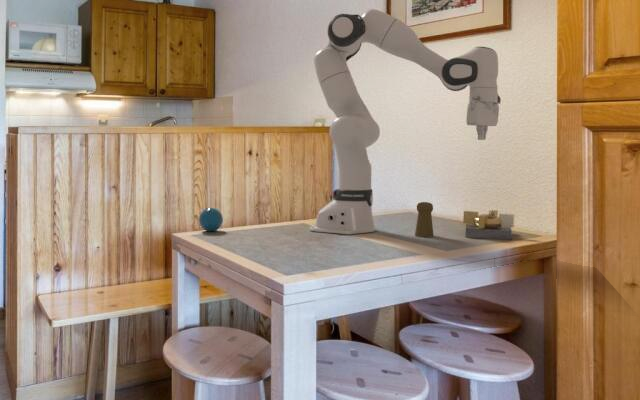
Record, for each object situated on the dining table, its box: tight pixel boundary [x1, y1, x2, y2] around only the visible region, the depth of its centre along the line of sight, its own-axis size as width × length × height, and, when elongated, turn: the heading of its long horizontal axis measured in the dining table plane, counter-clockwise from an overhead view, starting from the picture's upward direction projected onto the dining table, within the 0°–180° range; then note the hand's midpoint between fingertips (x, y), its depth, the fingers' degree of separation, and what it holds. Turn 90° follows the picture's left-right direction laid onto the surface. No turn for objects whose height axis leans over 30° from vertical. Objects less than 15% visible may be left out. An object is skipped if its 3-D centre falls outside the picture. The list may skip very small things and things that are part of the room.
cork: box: [414, 201, 434, 239], centre depth 187 cm, size 6×6×11 cm
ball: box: [198, 207, 224, 233], centre depth 194 cm, size 8×8×8 cm
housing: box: [464, 224, 513, 241], centre depth 189 cm, size 14×13×3 cm
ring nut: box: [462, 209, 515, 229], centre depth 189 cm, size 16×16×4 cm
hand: (481, 139), depth 191 cm, fingers closed
